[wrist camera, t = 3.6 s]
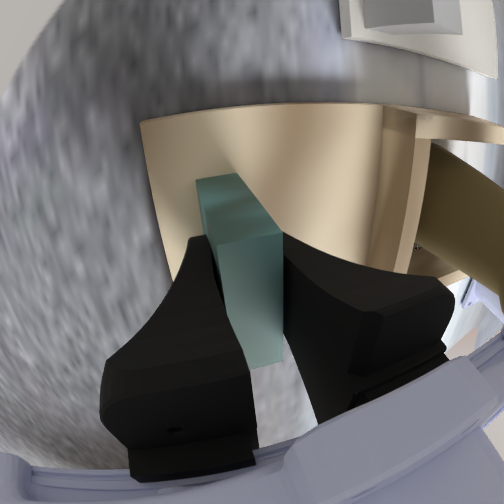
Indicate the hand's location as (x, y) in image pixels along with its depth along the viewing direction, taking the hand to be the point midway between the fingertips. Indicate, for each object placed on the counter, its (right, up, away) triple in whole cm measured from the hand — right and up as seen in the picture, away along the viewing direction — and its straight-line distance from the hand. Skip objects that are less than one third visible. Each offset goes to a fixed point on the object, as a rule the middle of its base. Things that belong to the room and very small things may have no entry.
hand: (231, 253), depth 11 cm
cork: (+11, +4, +4) cm, 12 cm away
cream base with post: (+10, +13, -2) cm, 16 cm away
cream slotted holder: (+6, +2, +3) cm, 7 cm away
